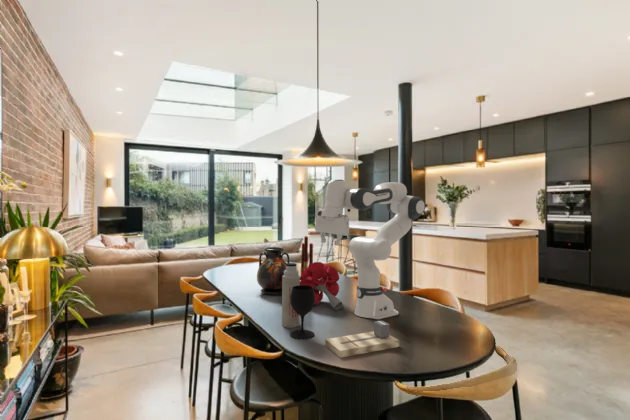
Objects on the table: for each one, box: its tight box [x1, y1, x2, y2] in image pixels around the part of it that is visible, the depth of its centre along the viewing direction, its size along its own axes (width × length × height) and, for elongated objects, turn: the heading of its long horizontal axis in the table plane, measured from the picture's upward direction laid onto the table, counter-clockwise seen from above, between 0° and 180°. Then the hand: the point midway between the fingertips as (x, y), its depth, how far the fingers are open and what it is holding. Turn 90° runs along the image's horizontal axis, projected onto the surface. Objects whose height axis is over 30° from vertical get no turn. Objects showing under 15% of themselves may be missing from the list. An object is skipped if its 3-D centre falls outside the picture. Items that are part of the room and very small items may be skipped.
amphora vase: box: [256, 246, 290, 296], centre depth 218 cm, size 22×22×28 cm
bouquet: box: [299, 261, 343, 311], centre depth 193 cm, size 22×24×30 cm
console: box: [324, 330, 400, 359], centre depth 135 cm, size 26×12×3 cm, turn 114°
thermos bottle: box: [281, 262, 301, 328], centre depth 159 cm, size 8×8×28 cm
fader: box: [373, 320, 391, 338], centre depth 139 cm, size 4×5×5 cm
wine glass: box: [289, 285, 315, 340], centre depth 146 cm, size 10×10×20 cm
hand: (329, 243), depth 161 cm, fingers open, 8 cm apart
